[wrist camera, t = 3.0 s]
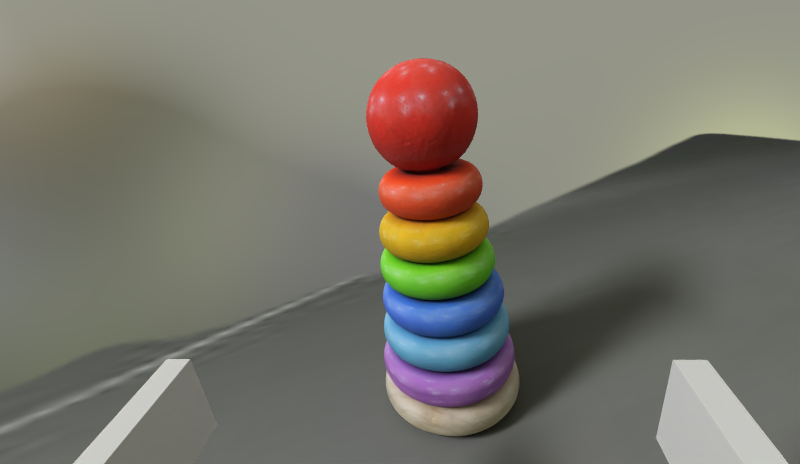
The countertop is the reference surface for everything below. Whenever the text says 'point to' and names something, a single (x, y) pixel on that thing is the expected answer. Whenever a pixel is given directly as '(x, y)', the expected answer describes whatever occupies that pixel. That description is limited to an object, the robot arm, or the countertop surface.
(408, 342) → the stacking toy
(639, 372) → the countertop surface
